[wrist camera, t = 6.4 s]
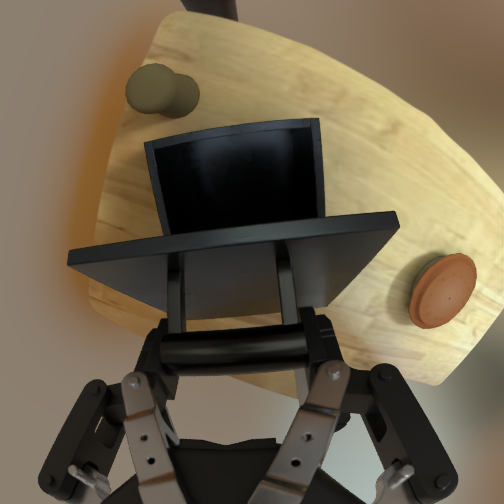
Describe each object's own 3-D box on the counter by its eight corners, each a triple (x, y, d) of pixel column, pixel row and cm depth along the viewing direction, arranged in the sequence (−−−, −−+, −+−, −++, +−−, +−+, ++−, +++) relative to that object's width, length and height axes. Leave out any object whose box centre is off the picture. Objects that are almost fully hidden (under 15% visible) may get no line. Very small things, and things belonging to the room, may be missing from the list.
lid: (68, 249, 11) (62, 371, 9) (395, 209, 10) (425, 347, 8) (185, 312, 28) (187, 365, 26) (326, 298, 28) (333, 353, 26)
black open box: (179, 134, 33) (143, 142, 21) (295, 119, 32) (319, 117, 20) (203, 258, 40) (185, 314, 29) (305, 247, 39) (325, 300, 28)
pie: (385, 309, 45) (396, 327, 40) (429, 232, 38) (445, 245, 34) (438, 322, 47) (449, 337, 42) (477, 258, 40) (492, 270, 36)
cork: (202, 113, 31) (181, 110, 22) (157, 123, 32) (120, 125, 22) (196, 69, 29) (173, 49, 19) (151, 80, 29) (113, 67, 19)
